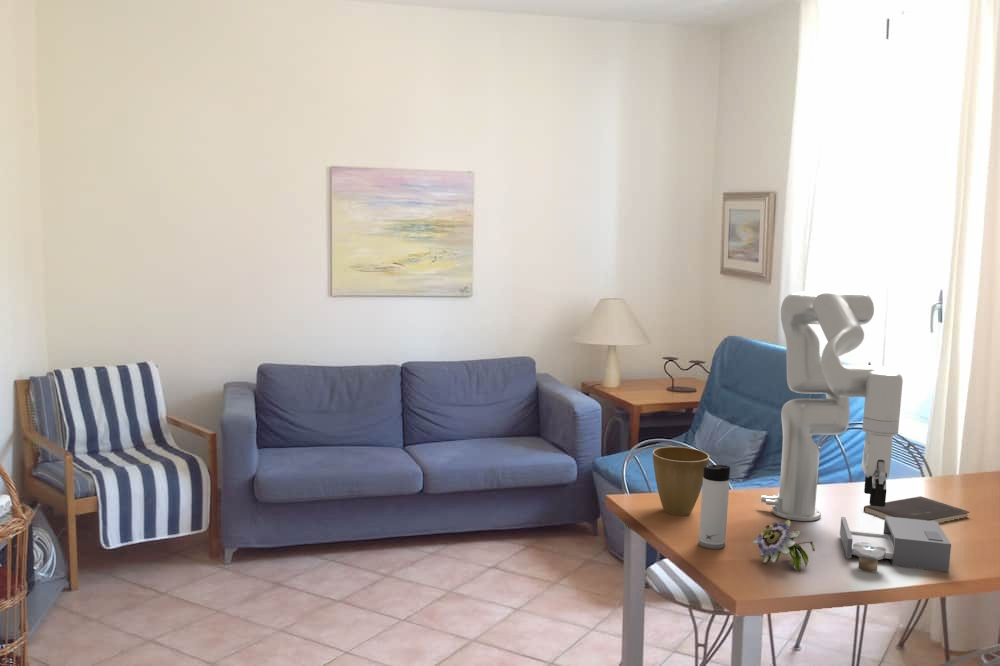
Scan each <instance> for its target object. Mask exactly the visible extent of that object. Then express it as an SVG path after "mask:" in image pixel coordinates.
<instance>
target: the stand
mask: <svg viewBox="0 0 1000 666" xmlns="http://www.w3.org/2000/svg"><path fill="white" fill-rule="evenodd" d="M878 563H879V560H871V559H865V558H861V557H858V566H857V568H858V569H859V570H860V571H863V572H867V573H875V572H878V571H877V570H878Z"/></svg>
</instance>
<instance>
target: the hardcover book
mask: <svg viewBox="0 0 1000 666" xmlns="http://www.w3.org/2000/svg"><path fill="white" fill-rule="evenodd" d="M863 512H865V513H868V512H869V513H868V514H870V515H873V514H874V516H876V515H877V517H879V518H882V519H885V516H889V517H898V518H908V519H918V520H927V521H937V522H938V524H941V523H940V522H942V523H945V522H944V521H948V520H953V519H958V518H962V517H967V518H968V514H970V511H968V510H966V509H962V508H959V507H955V506H952V505H950V504H946V503H943V502H940V501H938V500H933V499H930V498H927V497H925V496H916V497H914V496H913V497H908V498H903V499H897V500H896V499H895V500H891V501H885V506H884V507H880V506H871V505H870V504H867V505H864V507H863ZM958 520H959V519H958ZM953 521H954V520H953ZM948 522H949V521H948Z"/></svg>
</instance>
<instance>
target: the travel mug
mask: <svg viewBox="0 0 1000 666" xmlns="http://www.w3.org/2000/svg"><path fill="white" fill-rule="evenodd" d="M730 473H731V467H730V466H728V465H723V464H712V465H709V466H704V474H703V484H702V488H701V501H700V502H701V503H700V504H701V505H700V518H699V519H700V520H699V533H698V535H699V536H698V545H699V546H700V547H702V548H706V549H709V550H710V549H711V550H721V549H723V548H725V547H726V539H727V538H726V537H727V523H728V522H727V521H728V507H729V494H730V476H731V475H730Z"/></svg>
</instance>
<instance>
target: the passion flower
mask: <svg viewBox="0 0 1000 666" xmlns="http://www.w3.org/2000/svg"><path fill="white" fill-rule="evenodd" d="M791 525H792V520H790V519H786V520H785V521H784V523H783V522H773V523H772V525H770V524H767V525H766V526H765V527H763V529H762V532H760V533H759V534H758V538H754V539H753V540H752V543H754V544H755V545H758V548H759V550H760V551H761V552H760V553H759V557H761V558H763V561H762V563H763V564H767V563H770V561H771V562H772V564H774V563H777V562H778V561H779V559H780V556H781V553H782V554H784V555H789V554H790V557H791V561H792V565H793V567H794V569H795V570H797V571H798V572H800V571H801V566H802V559H803V562H804V564H805V568H807V567H808V564H809V556H808V554H807V552H806V551H805V550H804V548H802V546H801V545H802V544H807V543H809V544H810V545H811V547H812V552H815V551H816V547H815V545H814V541H804V542H799V543H797V542H796V541H795V540H794V539H796V538H797V537H799V536H800V531H798V530H797V531H796V530H794V531H792V530H789V529H790V527H791Z"/></svg>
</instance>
